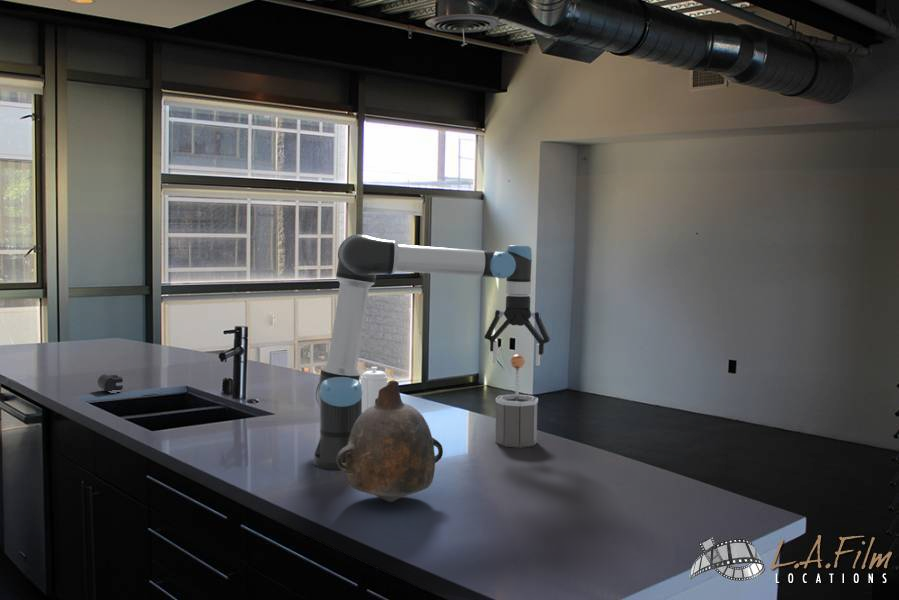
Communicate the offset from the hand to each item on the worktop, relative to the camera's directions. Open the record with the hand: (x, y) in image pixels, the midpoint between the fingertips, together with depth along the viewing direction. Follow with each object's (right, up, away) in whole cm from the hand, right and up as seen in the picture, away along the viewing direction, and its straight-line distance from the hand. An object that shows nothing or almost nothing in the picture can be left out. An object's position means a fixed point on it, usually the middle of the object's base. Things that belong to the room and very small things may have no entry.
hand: (516, 363), depth 256 cm
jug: (-35, -29, -57) cm, 73 cm away
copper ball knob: (0, -18, +1) cm, 18 cm away
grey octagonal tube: (+1, -25, +4) cm, 25 cm away
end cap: (-159, -18, +79) cm, 178 cm away
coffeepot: (-47, -22, +31) cm, 61 cm away
